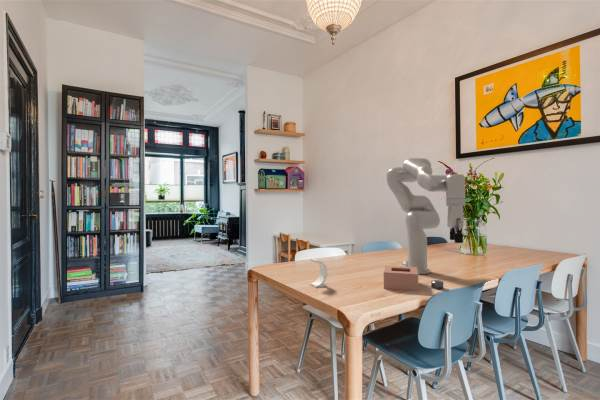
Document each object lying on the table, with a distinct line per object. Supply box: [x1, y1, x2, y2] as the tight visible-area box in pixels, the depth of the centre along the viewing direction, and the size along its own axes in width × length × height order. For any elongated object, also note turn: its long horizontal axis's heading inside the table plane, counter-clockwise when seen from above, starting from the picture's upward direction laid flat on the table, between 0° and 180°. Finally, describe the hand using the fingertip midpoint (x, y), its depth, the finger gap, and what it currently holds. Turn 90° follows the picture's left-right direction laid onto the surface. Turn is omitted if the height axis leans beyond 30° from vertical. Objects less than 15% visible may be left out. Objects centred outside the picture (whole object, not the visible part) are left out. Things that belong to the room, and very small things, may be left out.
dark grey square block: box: [430, 279, 444, 291], centre depth 140 cm, size 5×5×3 cm
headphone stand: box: [309, 258, 328, 289], centre depth 146 cm, size 5×6×12 cm
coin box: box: [383, 265, 419, 292], centre depth 144 cm, size 14×14×7 cm
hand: (456, 241), depth 143 cm, fingers open, 9 cm apart
